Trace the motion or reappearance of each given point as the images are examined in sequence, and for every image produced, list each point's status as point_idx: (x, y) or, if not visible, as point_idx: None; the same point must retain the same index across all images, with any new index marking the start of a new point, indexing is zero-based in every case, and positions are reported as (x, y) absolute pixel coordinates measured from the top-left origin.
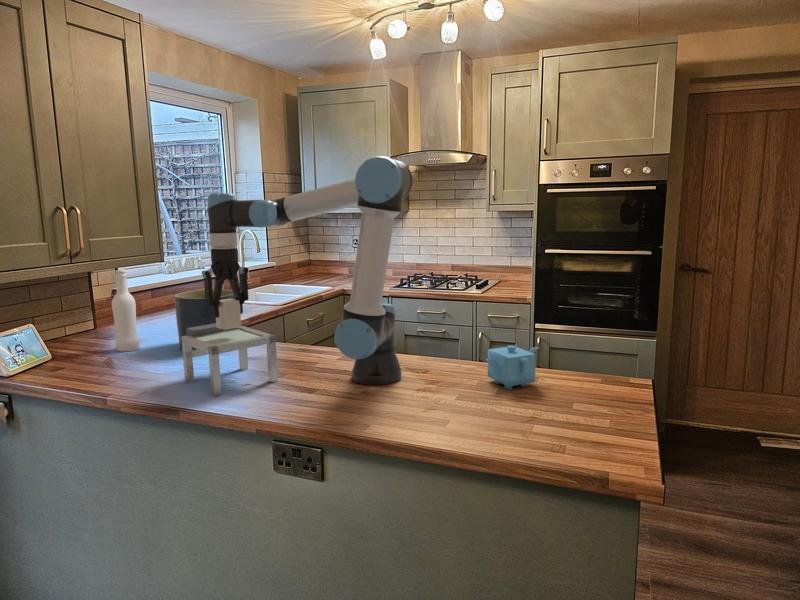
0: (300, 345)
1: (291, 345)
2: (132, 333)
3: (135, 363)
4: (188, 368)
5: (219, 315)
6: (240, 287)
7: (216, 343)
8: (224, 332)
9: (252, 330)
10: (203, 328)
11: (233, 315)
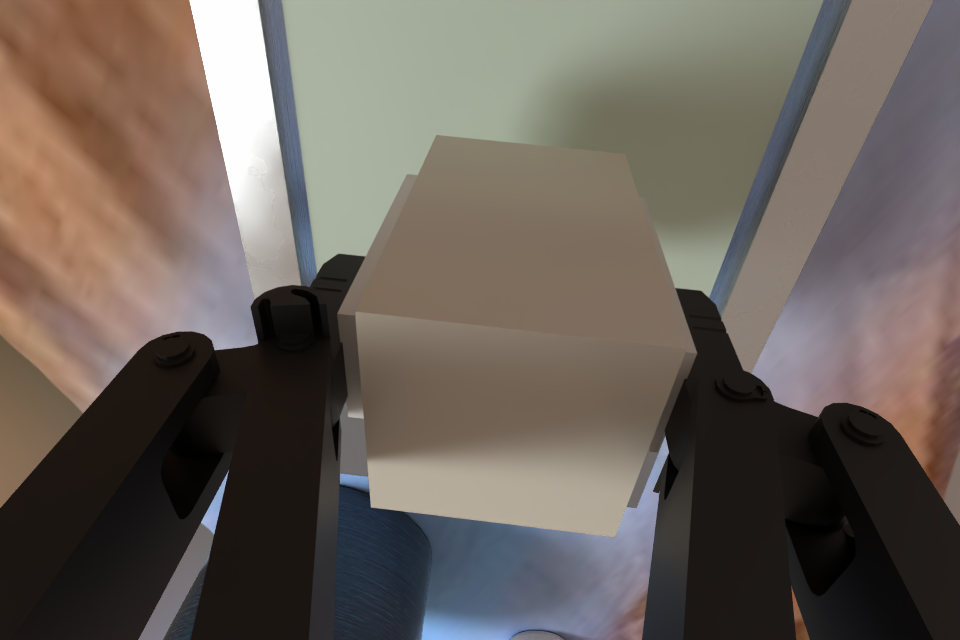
0: (3, 334)
1: (44, 361)
2: None
3: (614, 550)
4: None
5: (668, 284)
6: (142, 618)
7: (727, 94)
8: None
9: (270, 226)
10: None
11: (506, 203)
